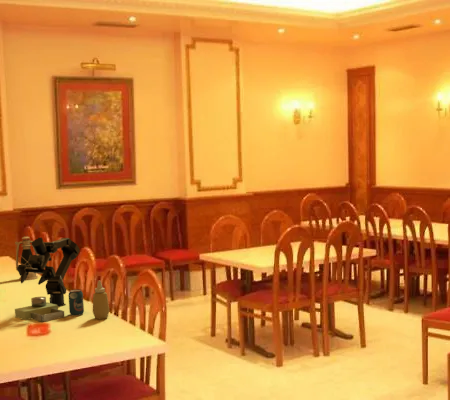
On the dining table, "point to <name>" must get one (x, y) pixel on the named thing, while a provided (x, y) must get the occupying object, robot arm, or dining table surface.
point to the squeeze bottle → (100, 302)
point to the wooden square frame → (48, 315)
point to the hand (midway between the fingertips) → (29, 283)
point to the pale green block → (35, 308)
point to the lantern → (25, 257)
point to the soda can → (76, 302)
